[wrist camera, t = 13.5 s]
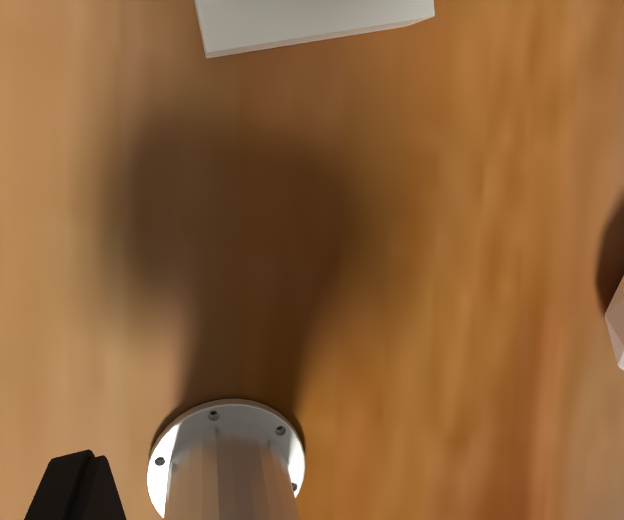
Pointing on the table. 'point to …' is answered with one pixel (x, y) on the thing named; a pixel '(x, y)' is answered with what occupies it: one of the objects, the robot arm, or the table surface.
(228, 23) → the slotted block
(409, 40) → the table surface
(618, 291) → the geodesic sphere
